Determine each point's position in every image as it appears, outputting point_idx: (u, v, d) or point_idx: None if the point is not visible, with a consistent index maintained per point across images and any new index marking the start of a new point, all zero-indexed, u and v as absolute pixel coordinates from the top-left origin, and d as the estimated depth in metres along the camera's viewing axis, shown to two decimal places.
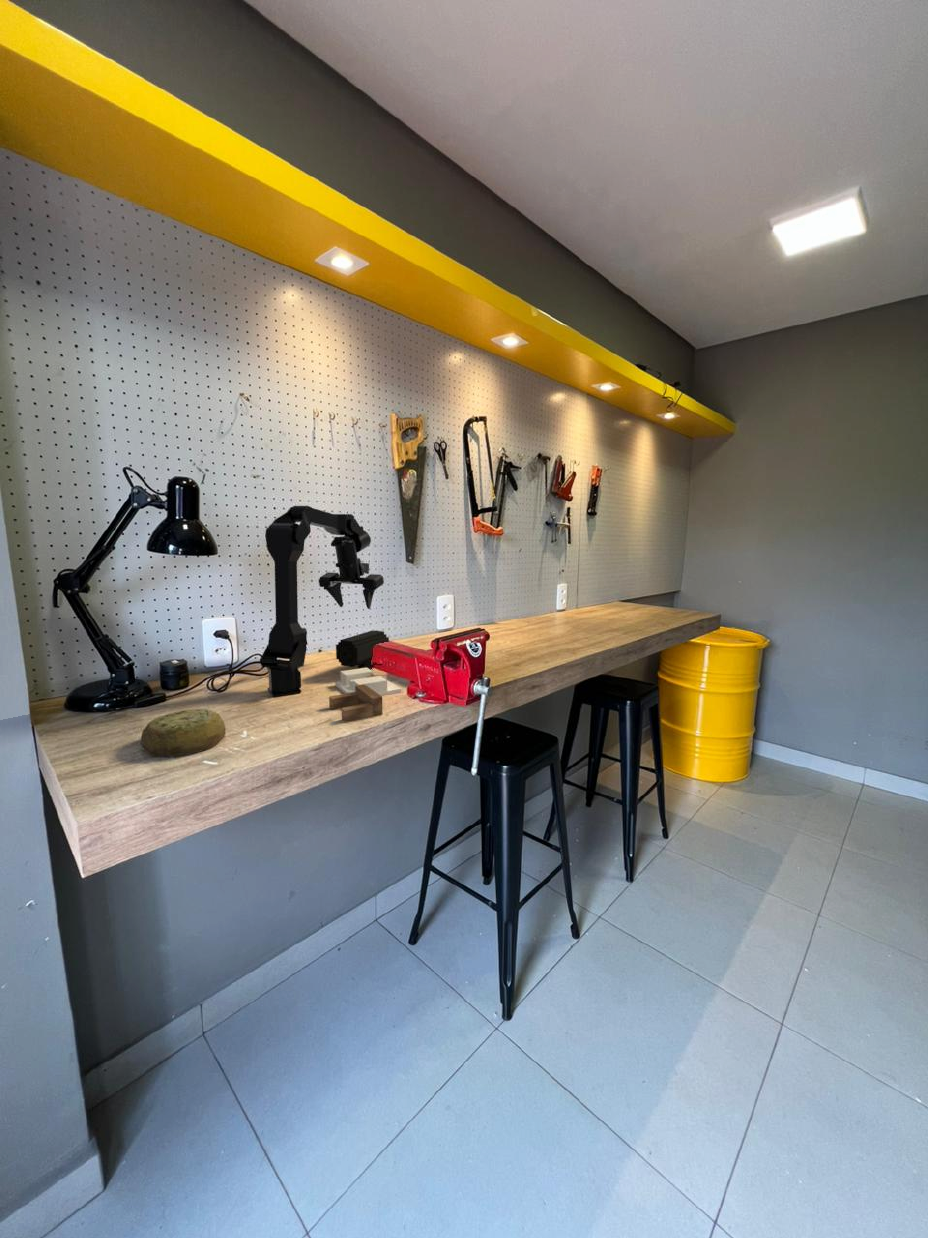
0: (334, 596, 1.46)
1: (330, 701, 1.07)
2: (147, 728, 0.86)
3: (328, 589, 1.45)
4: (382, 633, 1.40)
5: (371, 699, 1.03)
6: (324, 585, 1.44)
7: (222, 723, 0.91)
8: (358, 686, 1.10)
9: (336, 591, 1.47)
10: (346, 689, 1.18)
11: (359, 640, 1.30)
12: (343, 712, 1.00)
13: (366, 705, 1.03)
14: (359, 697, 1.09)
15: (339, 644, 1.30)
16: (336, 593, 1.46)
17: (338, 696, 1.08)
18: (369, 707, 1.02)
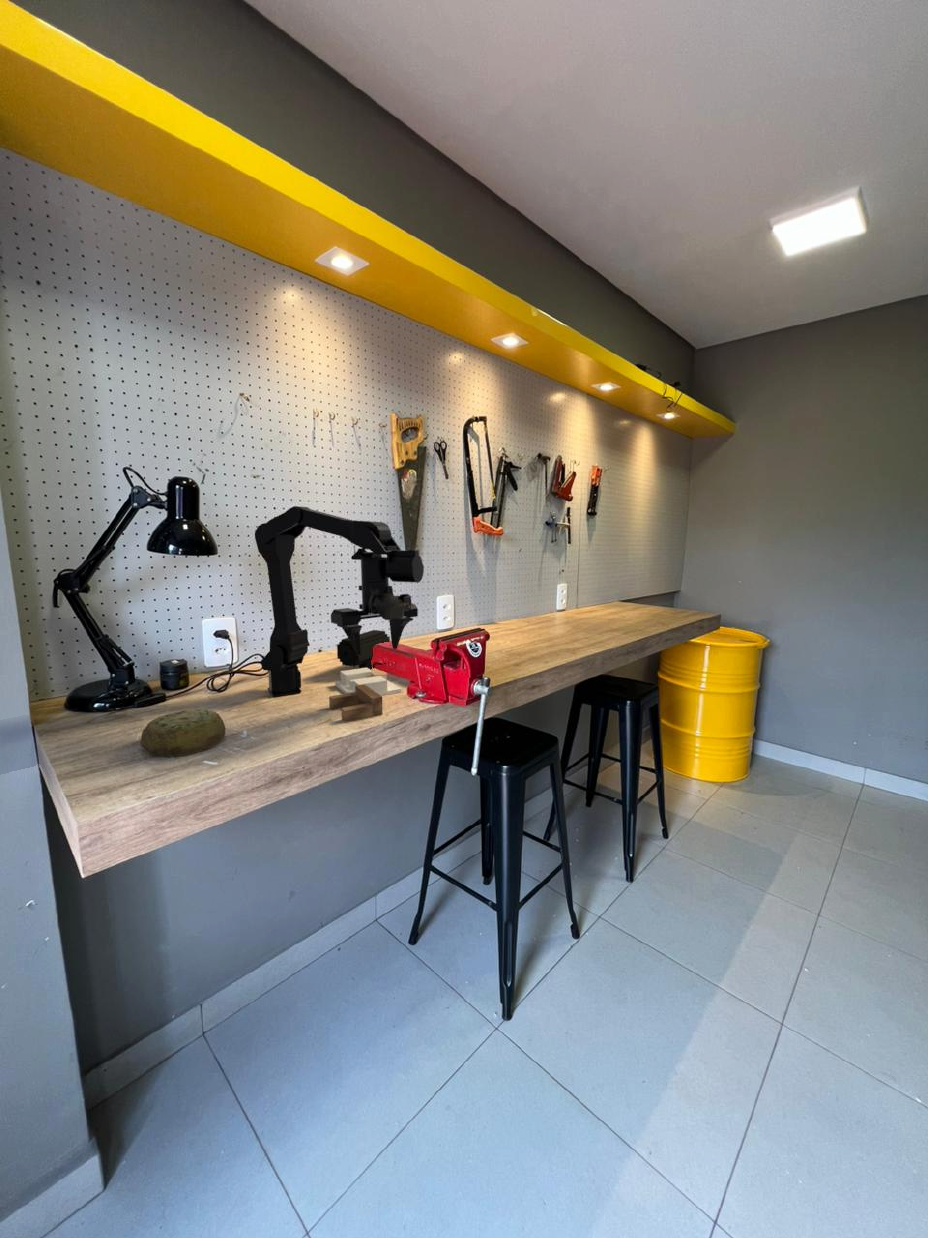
0: None
1: (330, 701, 1.07)
2: (147, 728, 0.86)
3: None
4: (383, 633, 1.41)
5: (371, 699, 1.03)
6: None
7: (222, 723, 0.91)
8: (358, 686, 1.10)
9: (393, 625, 1.11)
10: (346, 689, 1.18)
11: (360, 640, 1.31)
12: (343, 712, 1.00)
13: (366, 705, 1.03)
14: (359, 697, 1.09)
15: (340, 644, 1.30)
16: (392, 626, 1.11)
17: (338, 696, 1.08)
18: (369, 707, 1.02)
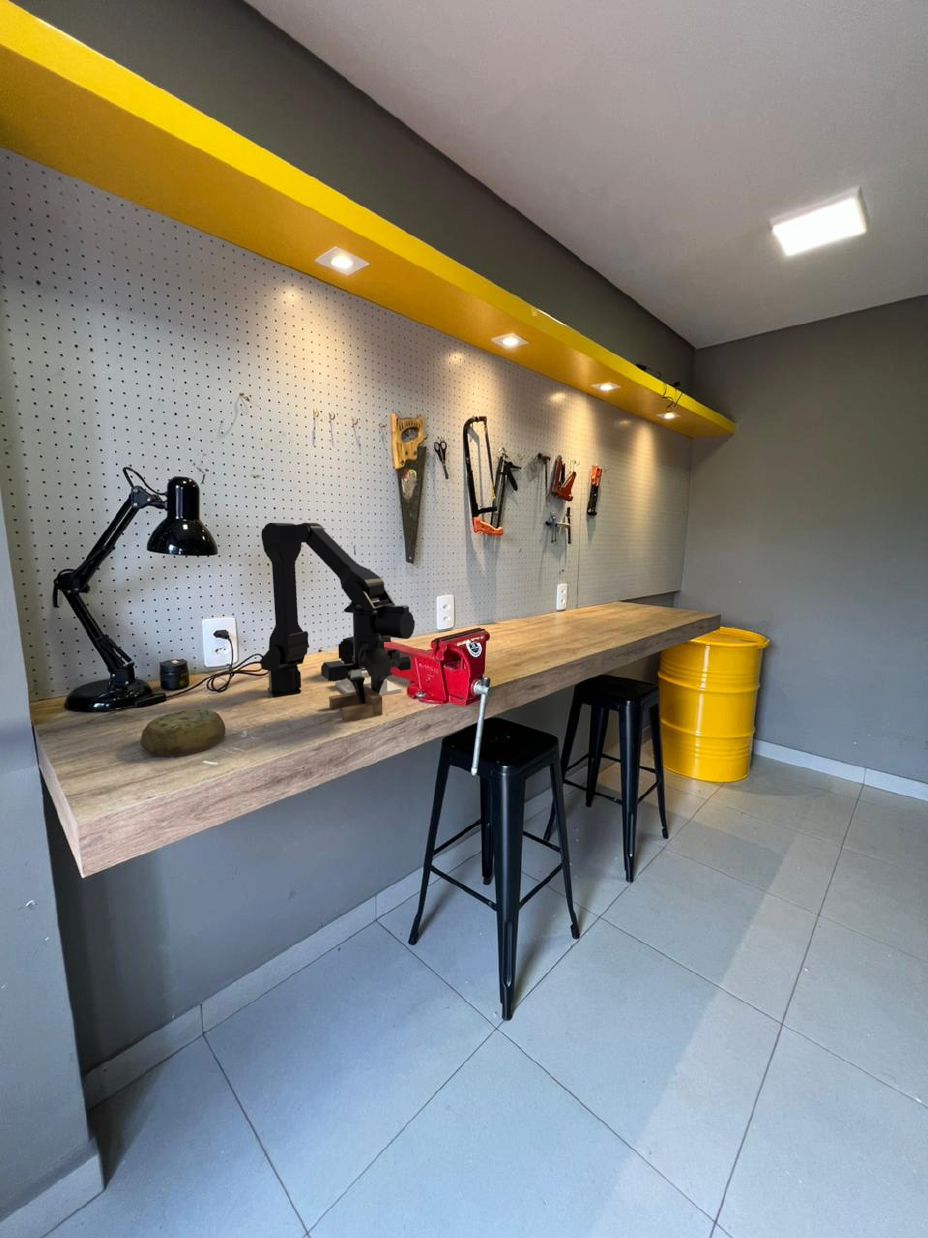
0: None
1: (330, 701, 1.07)
2: (147, 728, 0.86)
3: None
4: None
5: (371, 699, 1.03)
6: None
7: (222, 723, 0.91)
8: None
9: (373, 678, 1.08)
10: (346, 689, 1.18)
11: None
12: (343, 712, 1.00)
13: (366, 705, 1.03)
14: None
15: (341, 643, 1.31)
16: (372, 679, 1.09)
17: (338, 696, 1.08)
18: (369, 707, 1.02)
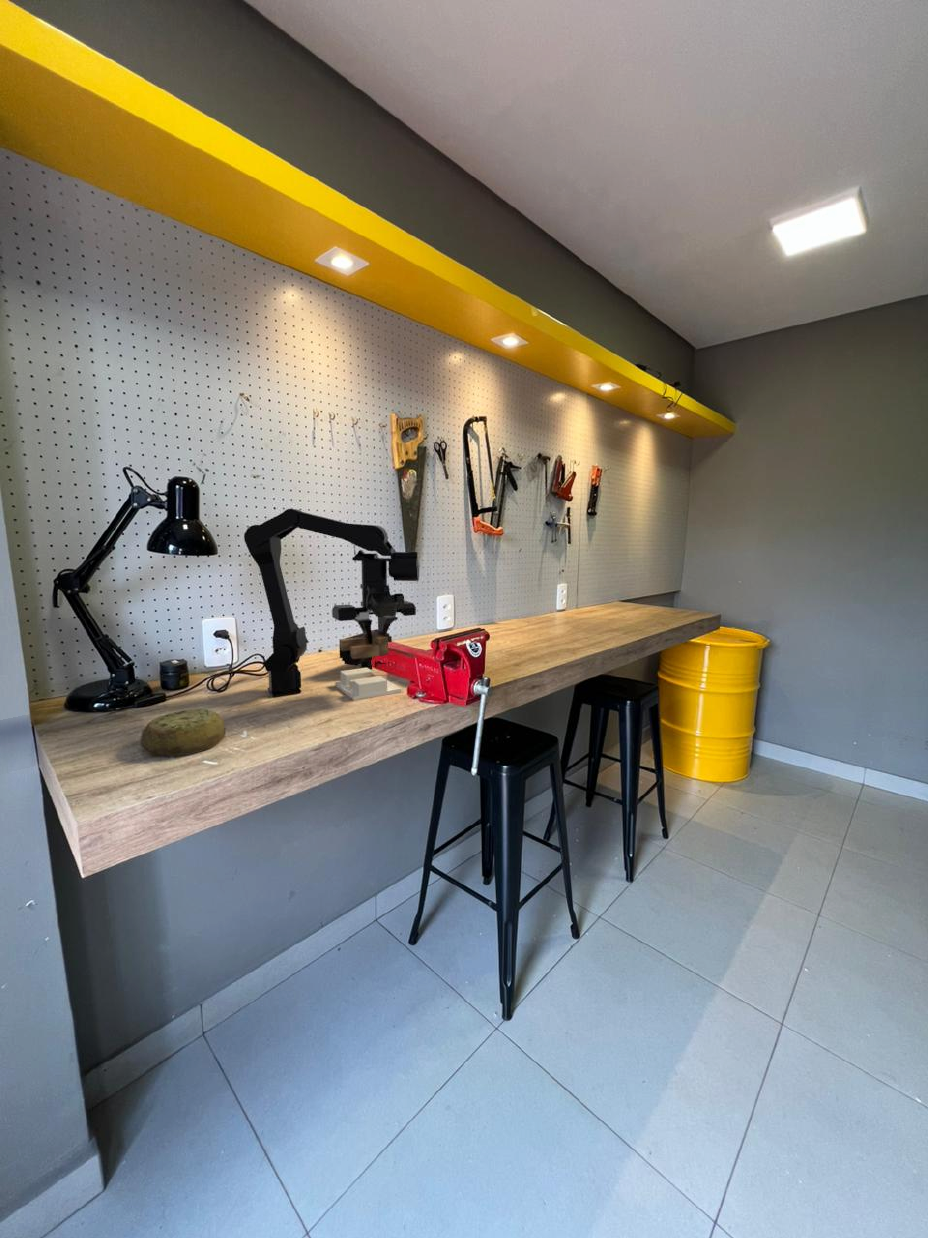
0: None
1: (340, 643, 1.16)
2: (147, 728, 0.86)
3: None
4: None
5: (377, 640, 1.12)
6: None
7: (222, 723, 0.91)
8: None
9: (380, 623, 1.17)
10: (346, 689, 1.18)
11: None
12: (352, 650, 1.09)
13: (373, 645, 1.11)
14: None
15: None
16: (379, 624, 1.17)
17: (348, 639, 1.17)
18: (376, 646, 1.11)
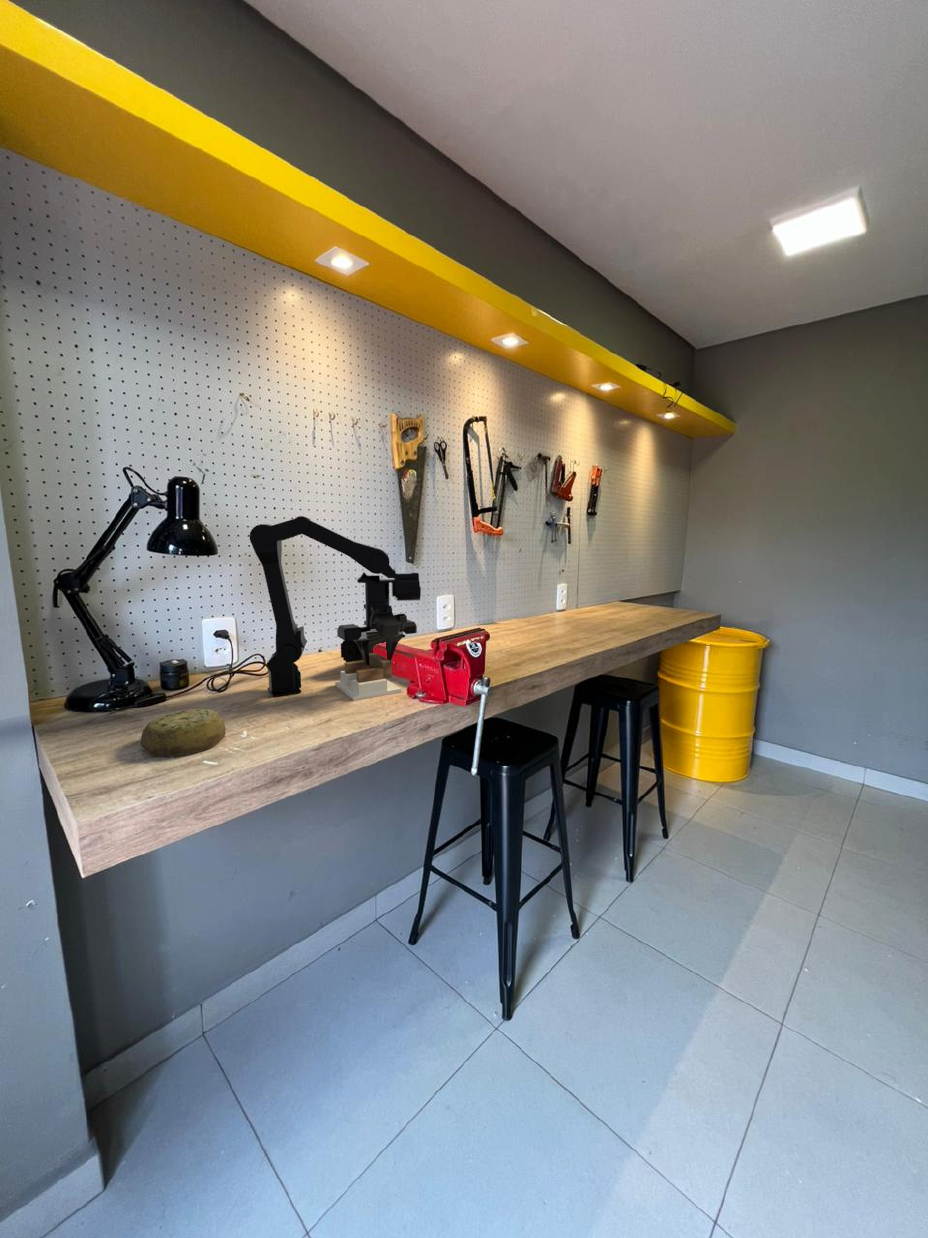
0: None
1: (345, 666, 1.22)
2: (147, 728, 0.86)
3: None
4: None
5: (381, 664, 1.18)
6: None
7: (222, 723, 0.91)
8: (370, 654, 1.25)
9: (388, 640, 1.23)
10: (346, 689, 1.18)
11: None
12: (357, 674, 1.15)
13: (377, 668, 1.17)
14: (370, 663, 1.24)
15: (344, 642, 1.31)
16: (387, 641, 1.24)
17: (352, 662, 1.22)
18: (380, 670, 1.17)
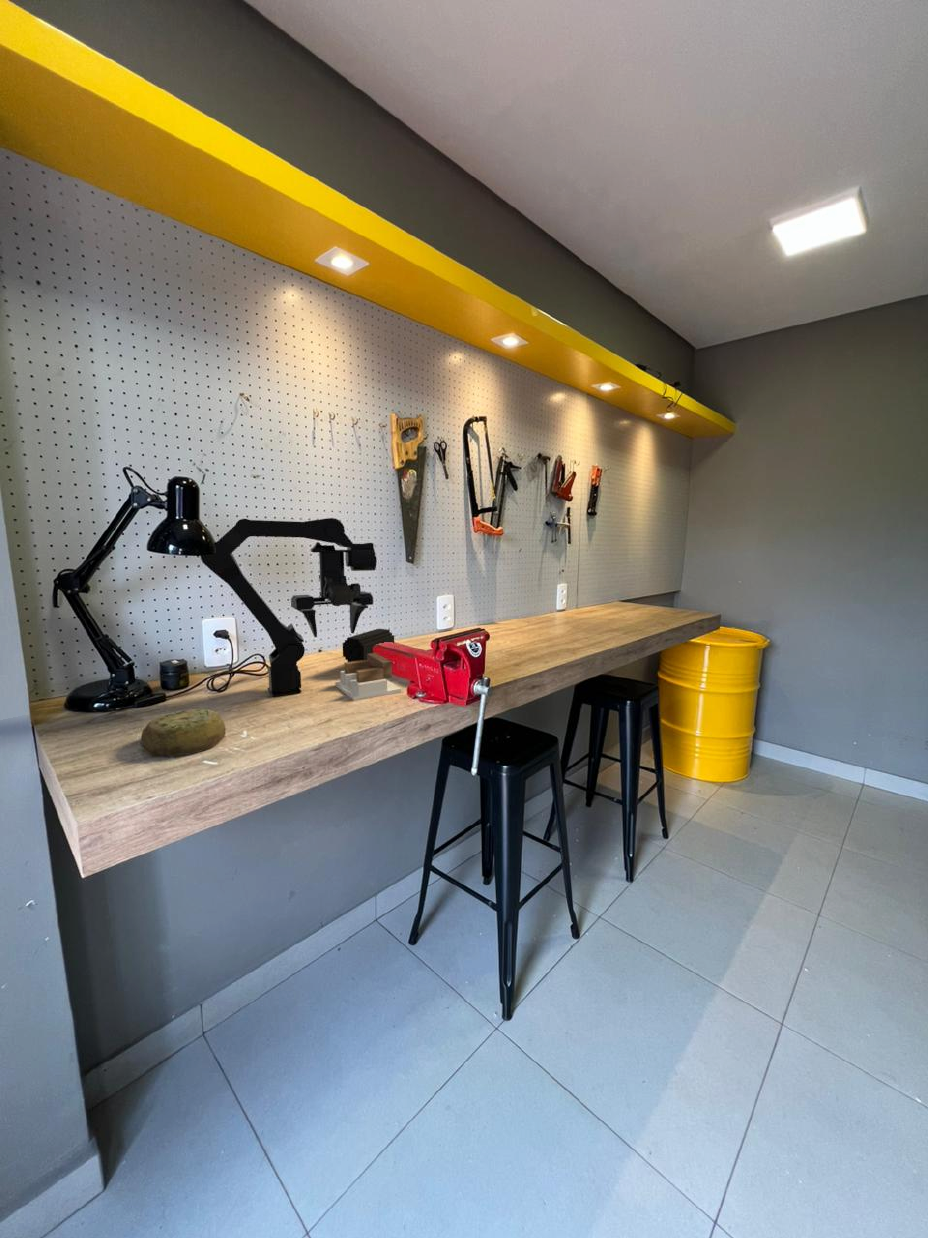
0: None
1: (345, 666, 1.22)
2: (147, 728, 0.86)
3: None
4: (388, 631, 1.43)
5: (381, 664, 1.18)
6: None
7: (222, 723, 0.91)
8: (370, 654, 1.25)
9: (351, 611, 1.23)
10: (346, 689, 1.18)
11: (365, 638, 1.33)
12: (357, 674, 1.15)
13: (377, 668, 1.17)
14: (370, 663, 1.24)
15: (346, 642, 1.32)
16: (351, 613, 1.24)
17: (352, 662, 1.22)
18: (380, 670, 1.17)
